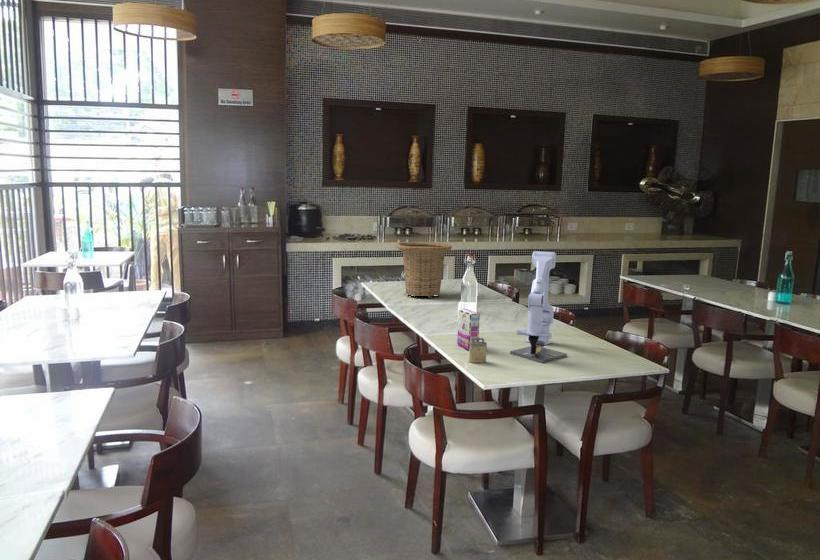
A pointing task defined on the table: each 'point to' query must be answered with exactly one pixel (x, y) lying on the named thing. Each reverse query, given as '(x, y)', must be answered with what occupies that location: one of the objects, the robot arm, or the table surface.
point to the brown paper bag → (477, 351)
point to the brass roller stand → (539, 347)
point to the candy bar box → (467, 327)
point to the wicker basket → (423, 266)
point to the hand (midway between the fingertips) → (533, 353)
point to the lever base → (542, 358)
